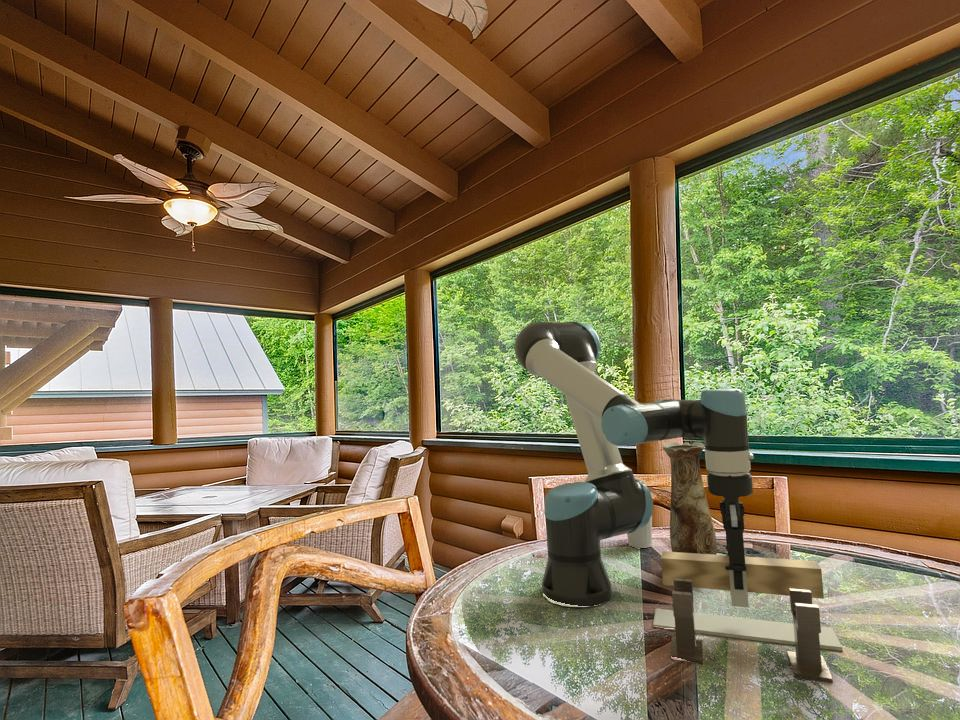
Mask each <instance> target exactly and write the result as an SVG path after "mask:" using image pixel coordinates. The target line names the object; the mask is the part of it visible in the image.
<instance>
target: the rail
mask: <svg viewBox="0 0 960 720" xmlns="http://www.w3.org/2000/svg"><path fill="white" fill-rule="evenodd" d="M661 552H662V553H661V556H660V560H661V564H660V565H661V575H662V585H663V586H672V587H674V578H678V579H690V580H692V589H694V588H695V589H705V590H706V589H707V590H718V591H719V590H721V591H727V592H730V591H731V589H730V576H729V570H725V566H729V565H730V564H729V556H728V555H727V554H717V555H712V554H697V553H681V552H672V551H663V550H662V551H661ZM745 565H746V568H747V569H746V579H747V592H748V593H751V594H753V593H755V594H763V595H777V596H789V597H790V593H789V588H793V589H805V590H810V591H811V594H812V599H821V600H822V599H823V600H824V598H825V596H824V595H825V594H824V584H823V574H822V573H823V572H822V571H823V570H822V568H821V566H820V564H819V563H818V561H816V560H805V559H790V558H789V559H787V558H777V559H776V558H760V557H745Z"/></svg>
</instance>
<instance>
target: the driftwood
mask: <svg viewBox="0 0 960 720" xmlns="http://www.w3.org/2000/svg"><path fill="white" fill-rule="evenodd" d="M717 545H719V546H722V547H725V550H726V551H724V550H723V549H717V553H724V554H725V555H727V553H728V551H727V549H726V546H727V544H725V543H719V542H717ZM744 553H745V554H746V557H760V558H776V559H779V558H778V556H779V555H778V554H777V553H775V552H772V551H767V550H761V549H757V548H755V547H754V548H753V547H745V546H744Z"/></svg>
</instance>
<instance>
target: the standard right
mask: <svg viewBox="0 0 960 720" xmlns="http://www.w3.org/2000/svg"><path fill="white" fill-rule="evenodd" d="M789 593H790V596H789V604H790V612H791V615H792V622H793V624H794V637H795V645H794V649H795V651H790V650H789V651H788V650H787V651H786V654H787V658H788V661H789V664H790V667H791V670H792V674H793V677H794V678H795V679H803V680H811V681H818V682H825V683H831V684H833V683H834V682H833V677H832V675H831V672H830V670H829V667H828V665H827V663H826V661H825V658H824V656H823V654H822V653H821V648H820V640H819V633H821V627H822V626H821V616H820V615H821V614H820V606H819V605H818V604H813V598H812V594H811V591H810V590H805V589H793V588H789ZM821 654H822V655H821Z"/></svg>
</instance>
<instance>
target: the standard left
mask: <svg viewBox="0 0 960 720" xmlns="http://www.w3.org/2000/svg"><path fill="white" fill-rule="evenodd" d="M671 597H672V599H671V600H672V610H673V614H674V617H675V630H674V631H675V636H672V635H671V643H670V653H669V657H670V656H672V657H677V658H681V659H685V660H687V661H690V662H689V663H691V662H692V664H693V663H694V664H699V665H703V664H704V661H703V660H704V657H703V655H704V653H703V652H704V651H703V640H702V639H696V638H697V637H696V633H695V623H694V613H695V612H694V611H695V610H694V594H693V587H692V580H690V579H678V578H674V586H673V590H672V592H671Z"/></svg>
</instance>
